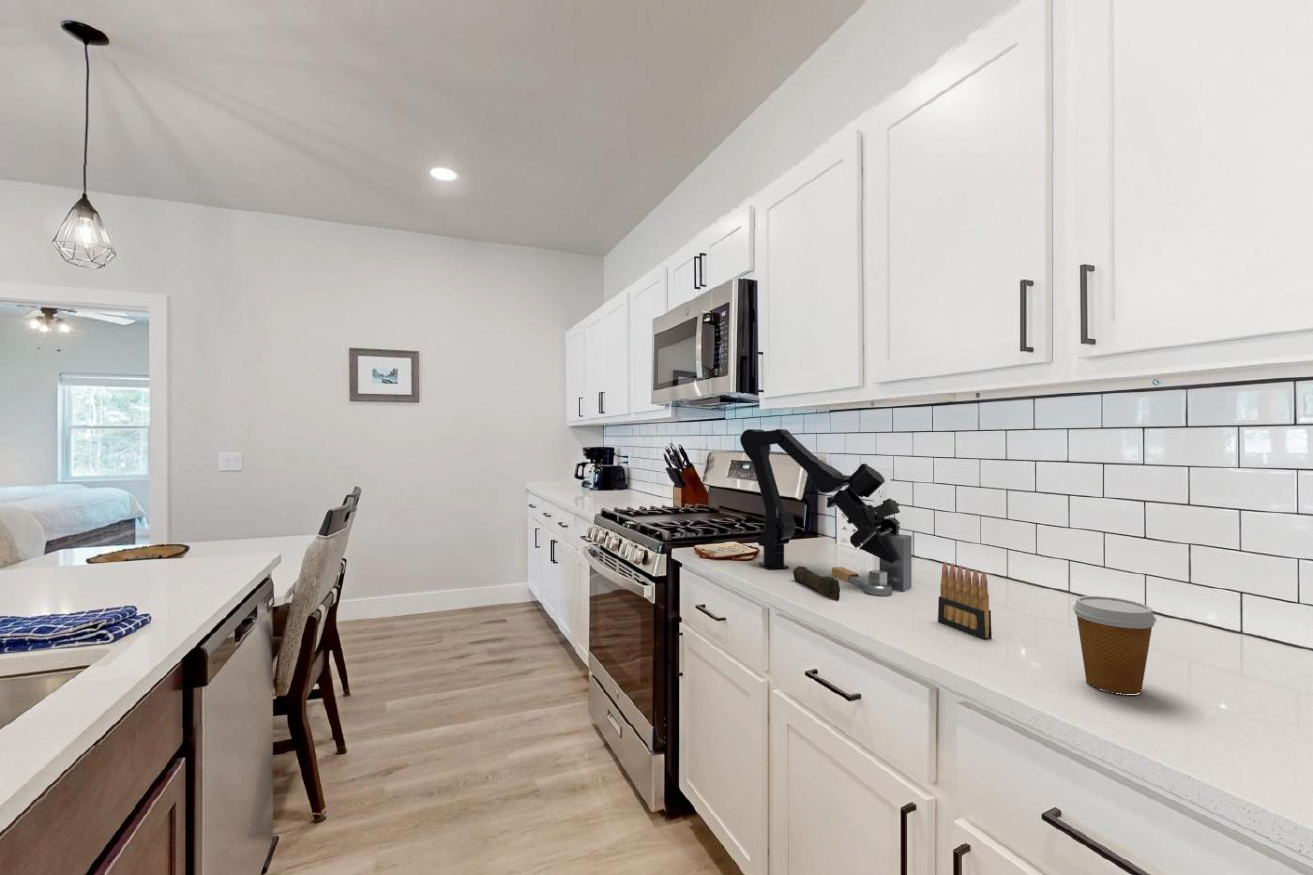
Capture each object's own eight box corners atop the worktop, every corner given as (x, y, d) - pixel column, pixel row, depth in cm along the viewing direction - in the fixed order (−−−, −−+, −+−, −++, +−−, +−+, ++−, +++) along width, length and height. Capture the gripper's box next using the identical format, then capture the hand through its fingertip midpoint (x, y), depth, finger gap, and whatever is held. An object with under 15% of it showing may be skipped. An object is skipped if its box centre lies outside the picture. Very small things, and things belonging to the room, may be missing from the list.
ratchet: (826, 575, 152) (826, 556, 152) (847, 574, 153) (847, 555, 153) (873, 597, 131) (874, 575, 131) (897, 595, 132) (897, 574, 132)
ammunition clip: (992, 639, 104) (992, 572, 104) (984, 640, 103) (984, 572, 103) (944, 621, 114) (945, 560, 114) (937, 622, 113) (937, 560, 113)
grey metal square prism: (879, 587, 139) (879, 535, 139) (888, 583, 143) (888, 532, 143) (903, 591, 135) (903, 538, 135) (911, 587, 139) (911, 535, 139)
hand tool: (792, 581, 146) (792, 563, 146) (807, 581, 147) (807, 562, 146) (827, 603, 127) (826, 582, 127) (843, 602, 128) (843, 581, 128)
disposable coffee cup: (1131, 706, 77) (1131, 617, 77) (1058, 679, 86) (1058, 599, 86) (1171, 694, 81) (1171, 609, 81) (1097, 669, 90) (1097, 592, 90)
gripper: (862, 490, 135) (912, 543, 128) (891, 486, 149) (937, 533, 142) (831, 521, 140) (876, 573, 133) (861, 514, 154) (904, 561, 147)
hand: (900, 559), depth 138 cm, fingers open, 9 cm apart
